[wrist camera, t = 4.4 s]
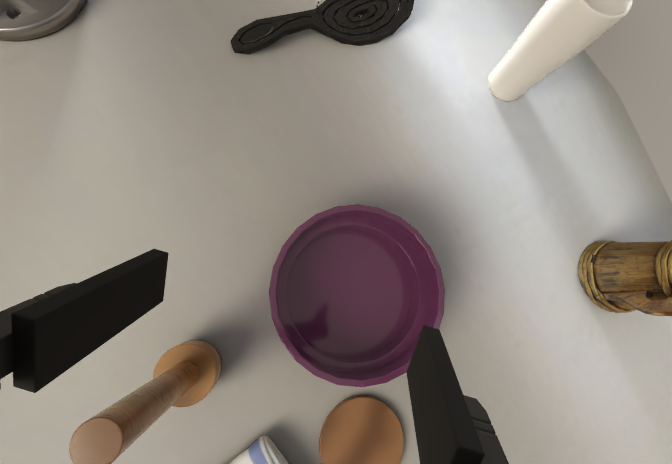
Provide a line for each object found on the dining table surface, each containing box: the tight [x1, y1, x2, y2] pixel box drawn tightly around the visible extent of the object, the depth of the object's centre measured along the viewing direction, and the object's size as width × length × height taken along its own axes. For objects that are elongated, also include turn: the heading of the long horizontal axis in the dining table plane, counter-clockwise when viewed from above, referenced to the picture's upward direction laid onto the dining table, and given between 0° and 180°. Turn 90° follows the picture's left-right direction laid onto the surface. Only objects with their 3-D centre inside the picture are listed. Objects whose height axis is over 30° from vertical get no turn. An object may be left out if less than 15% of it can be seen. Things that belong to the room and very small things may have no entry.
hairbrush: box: [231, 0, 414, 54], centre depth 42 cm, size 8×4×25 cm
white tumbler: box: [488, 0, 633, 101], centre depth 38 cm, size 7×7×15 cm
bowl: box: [269, 205, 445, 387], centre depth 34 cm, size 17×17×6 cm
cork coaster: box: [319, 396, 404, 464], centre depth 34 cm, size 9×9×1 cm
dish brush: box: [69, 340, 222, 464], centre depth 24 cm, size 5×5×18 cm
